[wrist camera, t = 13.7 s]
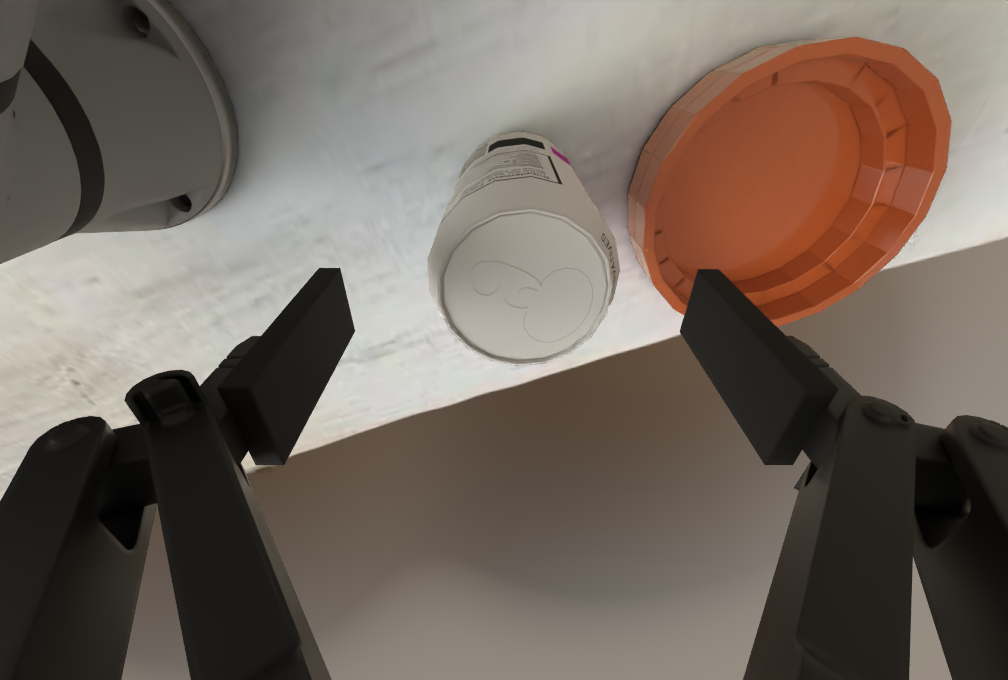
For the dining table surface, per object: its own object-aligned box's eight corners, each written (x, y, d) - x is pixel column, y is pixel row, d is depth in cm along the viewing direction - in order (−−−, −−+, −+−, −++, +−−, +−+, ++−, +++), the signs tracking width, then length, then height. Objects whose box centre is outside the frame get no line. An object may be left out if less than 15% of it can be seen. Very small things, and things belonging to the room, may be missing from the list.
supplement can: (597, 162, 28) (670, 244, 15) (542, 266, 32) (565, 397, 20) (484, 107, 26) (464, 150, 14) (442, 225, 30) (398, 341, 18)
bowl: (595, 281, 33) (607, 309, 29) (686, 11, 23) (720, 3, 20) (793, 315, 34) (828, 346, 31) (952, 75, 25) (1030, 78, 21)
